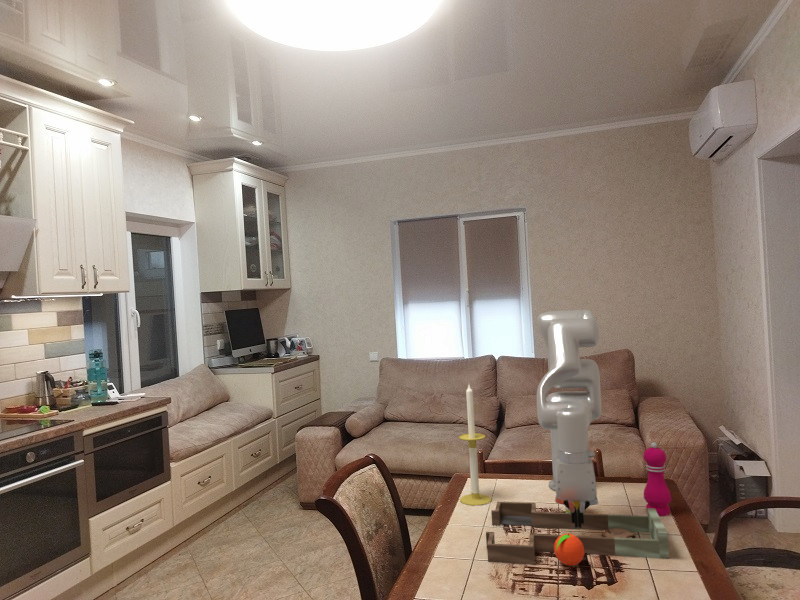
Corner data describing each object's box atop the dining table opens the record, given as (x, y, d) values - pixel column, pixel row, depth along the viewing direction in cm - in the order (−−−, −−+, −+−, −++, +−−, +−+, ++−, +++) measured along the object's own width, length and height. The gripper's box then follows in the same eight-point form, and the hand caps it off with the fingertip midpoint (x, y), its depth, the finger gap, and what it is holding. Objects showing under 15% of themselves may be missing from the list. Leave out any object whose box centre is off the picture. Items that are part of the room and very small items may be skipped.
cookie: (625, 533, 149) (624, 522, 149) (651, 550, 138) (650, 538, 138) (591, 539, 147) (590, 527, 147) (615, 556, 136) (614, 544, 136)
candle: (470, 508, 173) (463, 386, 173) (454, 498, 182) (447, 383, 182) (497, 501, 177) (490, 382, 177) (480, 492, 186) (473, 379, 186)
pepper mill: (638, 510, 163) (634, 441, 163) (657, 505, 166) (653, 438, 166) (659, 518, 156) (654, 446, 157) (678, 513, 159) (673, 443, 159)
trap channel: (494, 515, 166) (493, 494, 166) (651, 521, 155) (650, 499, 155) (483, 561, 137) (482, 536, 137) (675, 572, 126) (674, 545, 126)
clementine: (570, 575, 127) (568, 544, 128) (545, 565, 133) (543, 535, 133) (591, 564, 132) (589, 534, 132) (567, 554, 138) (565, 525, 138)
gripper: (602, 452, 148) (606, 520, 148) (544, 451, 152) (548, 518, 152) (605, 461, 141) (609, 533, 141) (544, 460, 144) (548, 530, 145)
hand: (577, 525), depth 146 cm, fingers closed
